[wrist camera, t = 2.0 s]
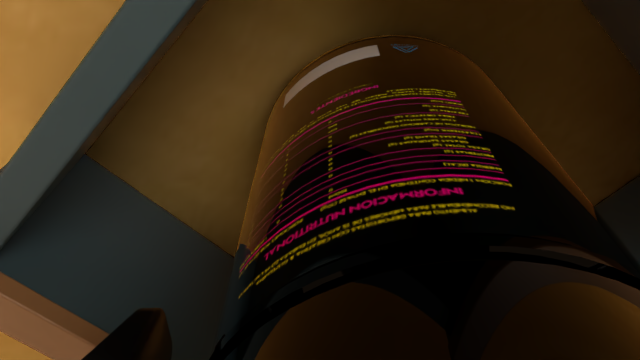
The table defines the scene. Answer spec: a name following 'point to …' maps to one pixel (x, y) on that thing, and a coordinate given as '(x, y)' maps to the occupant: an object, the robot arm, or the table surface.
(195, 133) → the table surface
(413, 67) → the supplement container
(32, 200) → the crate
